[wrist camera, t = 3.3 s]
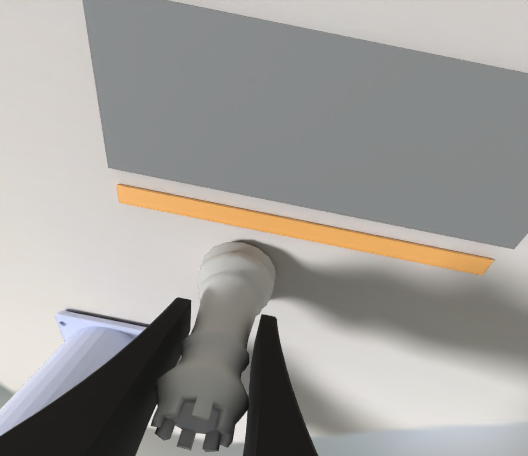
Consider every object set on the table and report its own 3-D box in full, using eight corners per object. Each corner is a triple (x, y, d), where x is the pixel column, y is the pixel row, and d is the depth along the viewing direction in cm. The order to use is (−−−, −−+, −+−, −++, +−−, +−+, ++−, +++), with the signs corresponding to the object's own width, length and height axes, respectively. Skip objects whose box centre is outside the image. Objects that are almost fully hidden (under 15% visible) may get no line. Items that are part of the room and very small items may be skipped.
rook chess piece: (267, 231, 13) (242, 391, 6) (283, 292, 15) (278, 466, 8) (193, 243, 13) (89, 395, 6) (217, 299, 15) (157, 462, 8)
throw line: (479, 272, 13) (481, 275, 12) (121, 201, 13) (119, 202, 12) (491, 258, 12) (493, 260, 12) (119, 183, 12) (116, 184, 12)
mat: (503, 242, 12) (514, 249, 11) (116, 165, 12) (108, 167, 11) (621, 97, 8) (644, 96, 8) (93, -10, 8) (79, -18, 8)
